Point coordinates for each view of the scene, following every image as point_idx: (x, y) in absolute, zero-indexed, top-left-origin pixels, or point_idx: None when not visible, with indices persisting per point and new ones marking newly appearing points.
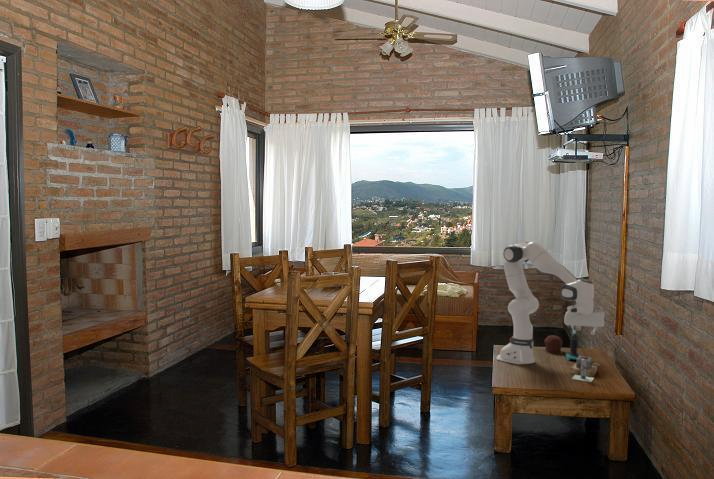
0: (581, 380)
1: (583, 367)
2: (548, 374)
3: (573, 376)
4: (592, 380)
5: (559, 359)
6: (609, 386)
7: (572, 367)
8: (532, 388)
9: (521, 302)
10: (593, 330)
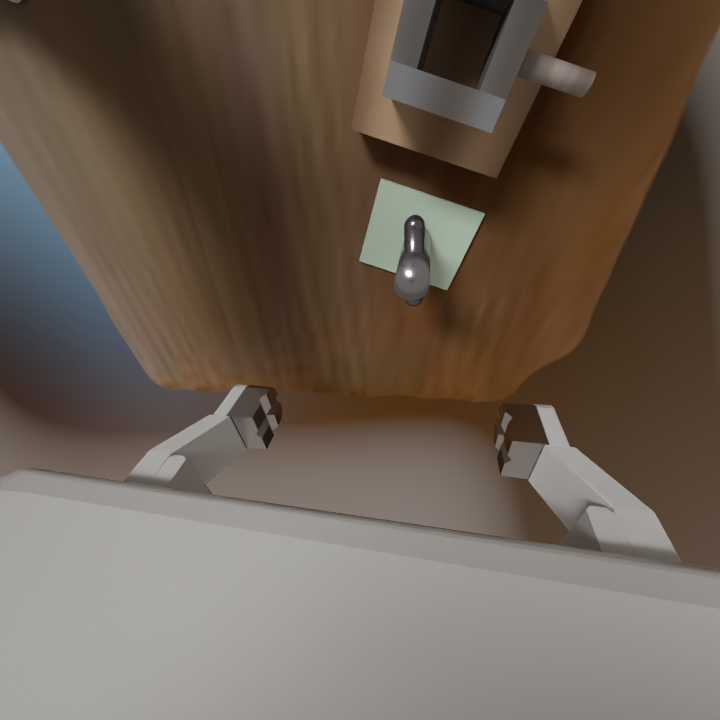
0: None
1: (406, 302)
2: (247, 203)
3: (369, 222)
4: (460, 262)
5: None
6: (516, 329)
7: (363, 108)
8: None
9: None
10: (550, 472)
